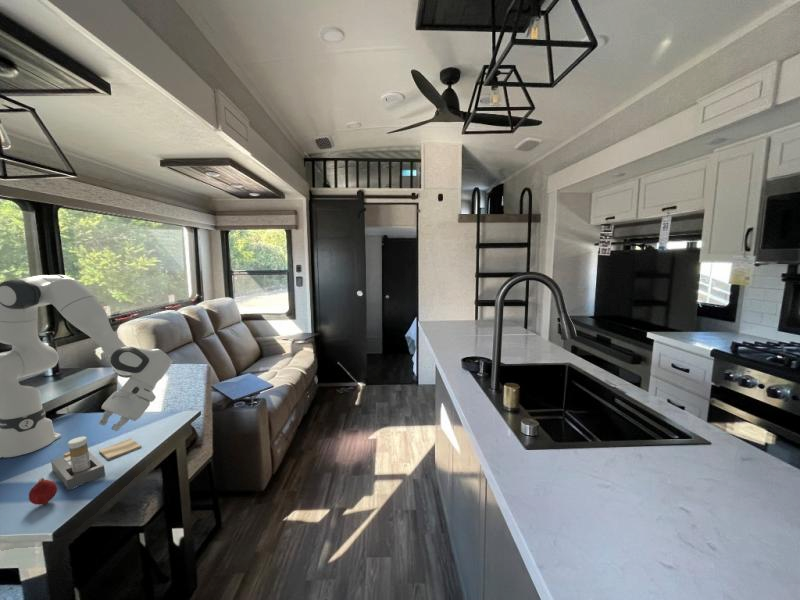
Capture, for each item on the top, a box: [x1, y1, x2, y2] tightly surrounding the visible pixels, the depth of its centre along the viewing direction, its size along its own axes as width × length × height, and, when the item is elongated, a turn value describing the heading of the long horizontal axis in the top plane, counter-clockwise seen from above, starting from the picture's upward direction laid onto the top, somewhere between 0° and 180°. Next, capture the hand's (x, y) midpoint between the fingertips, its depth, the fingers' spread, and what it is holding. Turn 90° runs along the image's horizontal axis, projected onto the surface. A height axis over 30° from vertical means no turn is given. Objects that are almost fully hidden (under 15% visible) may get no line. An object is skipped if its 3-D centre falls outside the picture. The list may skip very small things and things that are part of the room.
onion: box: [28, 477, 58, 506], centre depth 99 cm, size 6×6×8 cm
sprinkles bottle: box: [67, 436, 90, 475], centre depth 111 cm, size 5×5×14 cm
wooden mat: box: [98, 438, 142, 461], centre depth 127 cm, size 10×10×1 cm
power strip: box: [50, 450, 106, 491], centre depth 115 cm, size 26×9×4 cm, turn 56°
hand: (107, 427), depth 117 cm, fingers open, 8 cm apart
